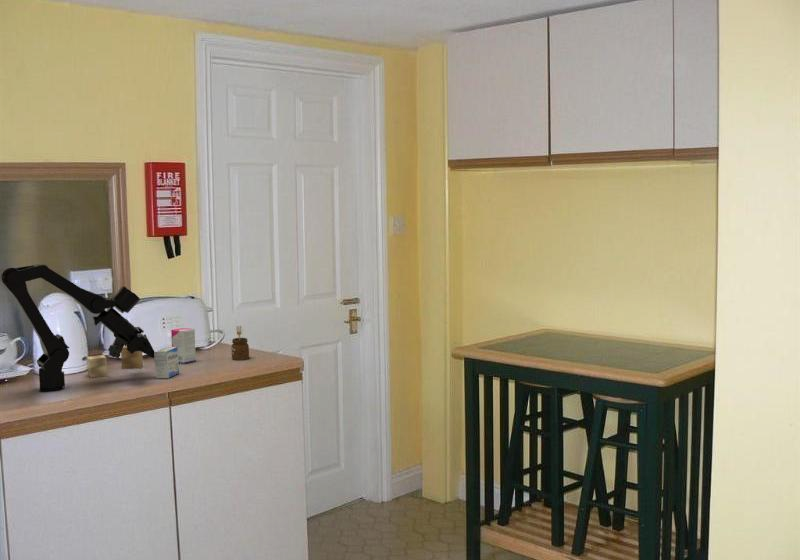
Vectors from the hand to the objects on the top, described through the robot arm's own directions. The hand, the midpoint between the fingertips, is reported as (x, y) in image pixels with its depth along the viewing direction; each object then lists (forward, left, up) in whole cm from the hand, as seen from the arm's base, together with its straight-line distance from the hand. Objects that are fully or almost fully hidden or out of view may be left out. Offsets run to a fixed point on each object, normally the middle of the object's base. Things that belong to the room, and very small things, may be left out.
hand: (155, 357), depth 273 cm
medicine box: (+3, 0, -7) cm, 7 cm away
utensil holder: (+29, +19, -7) cm, 35 cm away
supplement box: (+10, +21, -7) cm, 24 cm away
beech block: (-18, +10, -6) cm, 21 cm away
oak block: (-7, +19, -6) cm, 21 cm away
